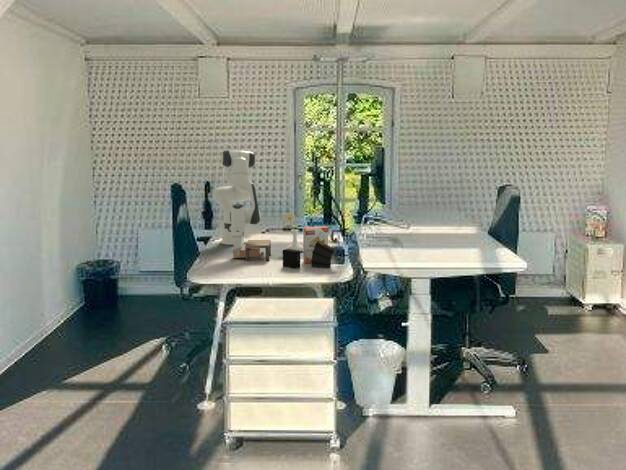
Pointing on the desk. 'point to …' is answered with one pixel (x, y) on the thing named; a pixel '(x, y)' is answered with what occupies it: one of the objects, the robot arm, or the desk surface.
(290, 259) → the electronic device
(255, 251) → the brown wooden block
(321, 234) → the cracker box
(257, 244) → the small wooden table
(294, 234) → the flower in vase
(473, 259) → the desk surface
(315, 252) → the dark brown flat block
